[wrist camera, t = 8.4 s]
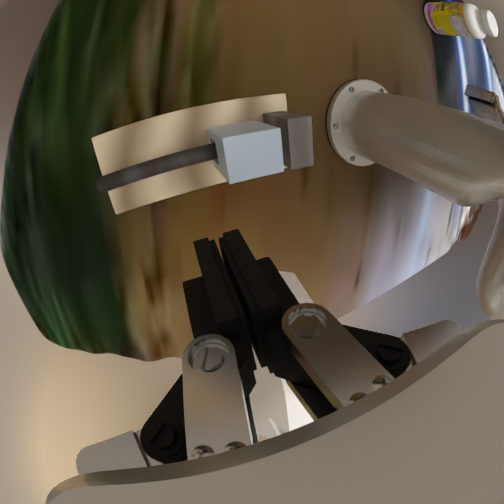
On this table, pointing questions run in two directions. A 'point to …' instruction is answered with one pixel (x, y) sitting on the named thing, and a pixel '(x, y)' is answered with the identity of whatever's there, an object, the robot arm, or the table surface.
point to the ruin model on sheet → (485, 104)
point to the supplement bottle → (460, 20)
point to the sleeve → (247, 150)
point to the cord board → (170, 143)
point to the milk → (278, 388)
